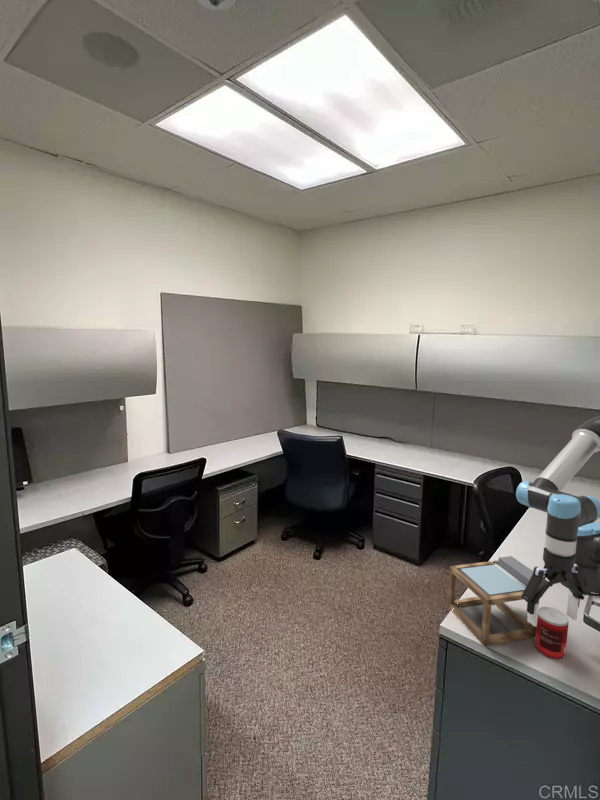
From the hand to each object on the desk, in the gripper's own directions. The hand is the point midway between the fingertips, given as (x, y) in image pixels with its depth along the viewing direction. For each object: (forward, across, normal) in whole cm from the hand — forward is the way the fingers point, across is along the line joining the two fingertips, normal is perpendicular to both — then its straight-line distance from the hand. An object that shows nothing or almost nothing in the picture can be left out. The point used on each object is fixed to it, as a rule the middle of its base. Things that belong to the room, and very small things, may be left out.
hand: (551, 620), depth 120 cm
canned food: (+10, 0, 0) cm, 10 cm away
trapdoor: (-2, +5, -15) cm, 16 cm away
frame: (+9, +8, -15) cm, 20 cm away
